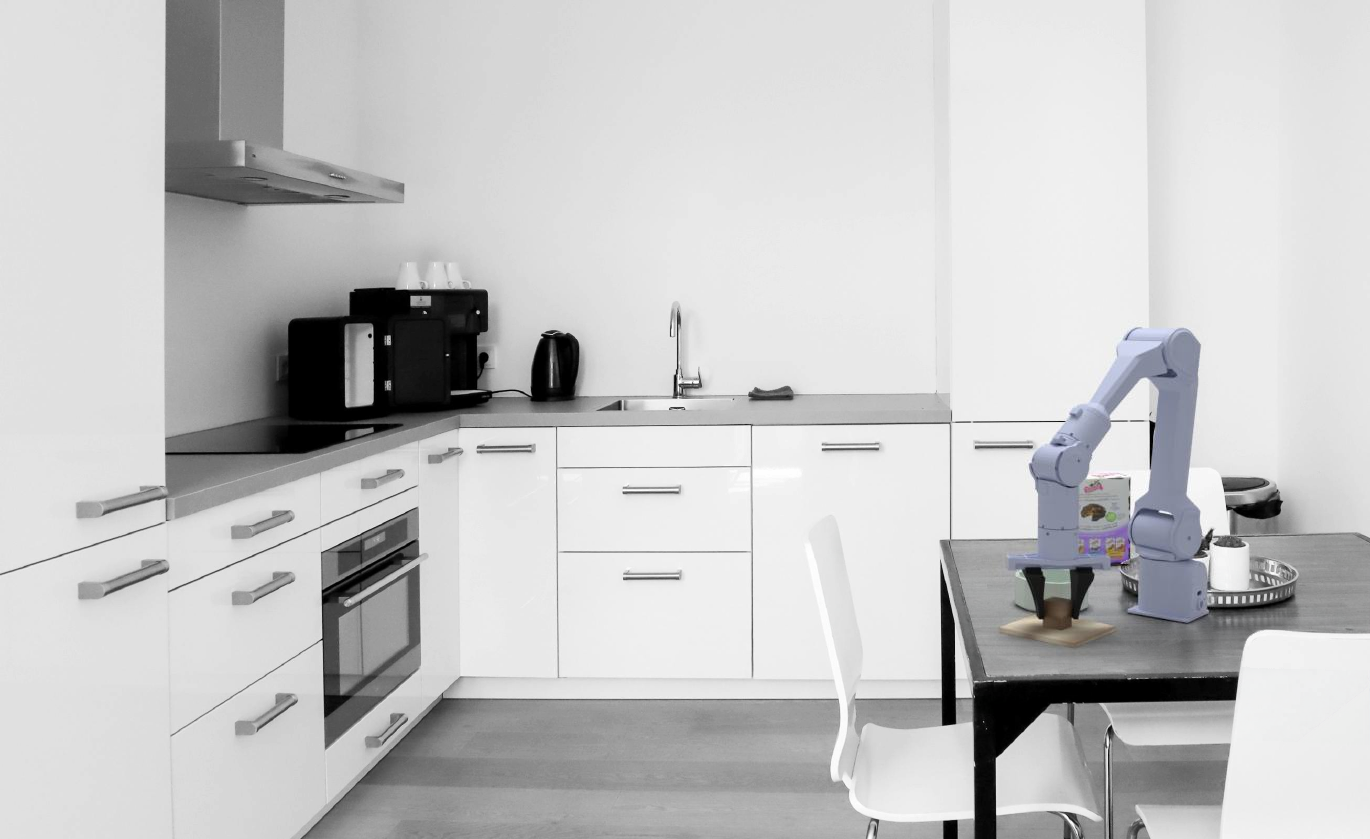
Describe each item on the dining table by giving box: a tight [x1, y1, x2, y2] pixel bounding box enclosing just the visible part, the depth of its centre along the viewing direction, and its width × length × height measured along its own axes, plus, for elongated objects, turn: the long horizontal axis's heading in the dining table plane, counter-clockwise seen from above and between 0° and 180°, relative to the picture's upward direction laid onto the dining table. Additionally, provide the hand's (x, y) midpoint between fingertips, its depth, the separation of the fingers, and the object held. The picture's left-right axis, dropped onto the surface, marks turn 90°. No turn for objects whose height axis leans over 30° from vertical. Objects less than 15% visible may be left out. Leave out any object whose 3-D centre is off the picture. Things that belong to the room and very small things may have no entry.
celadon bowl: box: [1014, 569, 1089, 613], centre depth 187 cm, size 11×11×5 cm
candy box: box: [1078, 472, 1132, 566], centre depth 216 cm, size 14×6×16 cm, turn 92°
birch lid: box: [998, 596, 1117, 649], centre depth 172 cm, size 12×12×5 cm
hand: (1057, 617), depth 172 cm, fingers closed on birch lid, 4 cm apart
